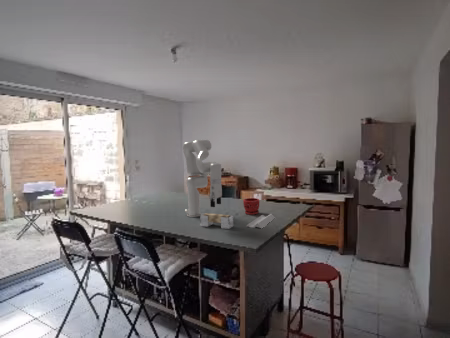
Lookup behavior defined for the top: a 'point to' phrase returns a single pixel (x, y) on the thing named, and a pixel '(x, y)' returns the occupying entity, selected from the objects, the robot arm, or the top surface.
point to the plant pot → (251, 206)
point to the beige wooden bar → (215, 217)
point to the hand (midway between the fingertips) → (215, 205)
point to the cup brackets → (225, 221)
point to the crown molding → (261, 221)
